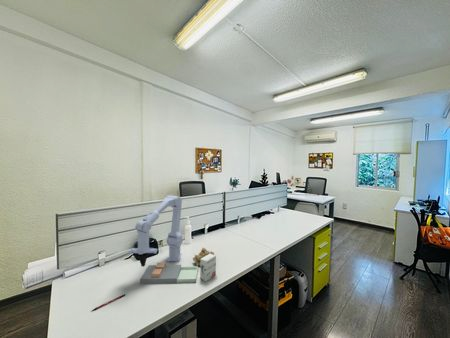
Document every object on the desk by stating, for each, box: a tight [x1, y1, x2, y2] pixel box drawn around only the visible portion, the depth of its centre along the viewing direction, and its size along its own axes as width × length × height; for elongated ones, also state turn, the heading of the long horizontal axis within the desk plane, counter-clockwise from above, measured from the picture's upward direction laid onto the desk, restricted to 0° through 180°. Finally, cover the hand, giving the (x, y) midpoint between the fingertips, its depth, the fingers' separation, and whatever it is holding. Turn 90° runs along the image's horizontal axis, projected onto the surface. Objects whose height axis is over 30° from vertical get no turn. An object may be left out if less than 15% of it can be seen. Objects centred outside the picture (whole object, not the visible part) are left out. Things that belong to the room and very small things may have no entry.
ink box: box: [199, 253, 217, 282], centre depth 103 cm, size 9×5×12 cm, turn 141°
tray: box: [176, 265, 199, 284], centre depth 104 cm, size 12×10×2 cm
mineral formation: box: [192, 247, 215, 266], centre depth 117 cm, size 8×13×15 cm
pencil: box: [91, 293, 126, 312], centre depth 83 cm, size 1×14×1 cm, turn 136°
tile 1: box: [155, 262, 166, 270], centre depth 107 cm, size 4×4×2 cm
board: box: [139, 264, 182, 285], centre depth 104 cm, size 13×20×2 cm, turn 93°
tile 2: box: [151, 269, 162, 277], centre depth 100 cm, size 4×4×2 cm
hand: (143, 265), depth 100 cm, fingers closed
